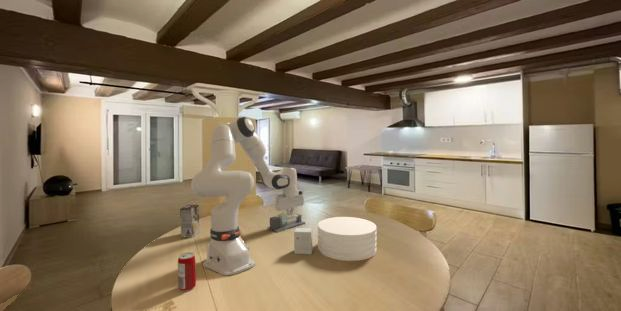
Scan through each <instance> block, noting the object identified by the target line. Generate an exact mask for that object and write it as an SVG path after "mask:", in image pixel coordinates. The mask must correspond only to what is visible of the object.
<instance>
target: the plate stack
mask: <svg viewBox="0 0 621 311" xmlns="http://www.w3.org/2000/svg"><path fill="white" fill-rule="evenodd" d="M377 233H378V232H377V225H376V224H375V223H374V222H373V221H370V220H368V219H365V218H360V217H353V216H335V217H328V218H324V219H322V220H321V221H319V222H318V223H317V250H318V252H319V253H320V254H322V255H323V256H325V257H327V258H331V259H334V260H337V261H344V262H345V261H346V262H348V261H349V262H354V261H355V262H356V261H362V260H367V259H369V258H372V257H373V256H375V255H376V254H377V244H378V243H377V238H378V237H377Z"/></svg>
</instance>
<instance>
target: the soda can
mask: <svg viewBox="0 0 621 311" xmlns="http://www.w3.org/2000/svg"><path fill="white" fill-rule="evenodd" d="M177 275H178V276H177V277H178V278H177V279H178V282H177V283H178V285H177V286H178V290H179V291H181V292H189V291H192V290H193V289H194V288H195V287H196V285H197V283H196V282H197V278H196V277H197V275H196V256H195V253H194V252H184V253H181V254H180V255H178V259H177Z"/></svg>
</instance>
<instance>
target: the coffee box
mask: <svg viewBox="0 0 621 311" xmlns="http://www.w3.org/2000/svg"><path fill="white" fill-rule="evenodd" d="M179 210H180V211H179V213H180V237H181V236H185V237H192V238H193V236H194V235H195V236H196V235H197V234H199V233H200V232H201V231H200V230H201V229H200V214H199V213H200V208H199V204H187V205H185V206H183V207H181V208H179ZM199 231H200V232H199ZM198 232H199V233H198ZM195 236H194V237H195Z"/></svg>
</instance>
